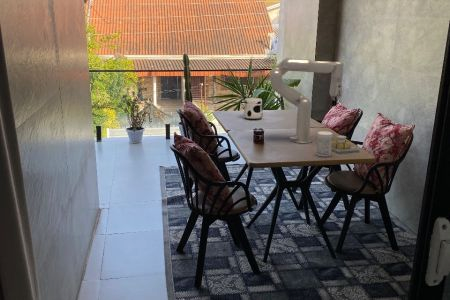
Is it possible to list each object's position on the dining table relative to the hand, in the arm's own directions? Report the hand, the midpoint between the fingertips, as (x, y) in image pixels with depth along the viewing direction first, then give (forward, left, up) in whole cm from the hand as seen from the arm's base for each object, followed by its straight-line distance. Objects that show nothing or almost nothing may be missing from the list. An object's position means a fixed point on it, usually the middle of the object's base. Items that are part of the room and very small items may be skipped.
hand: (333, 105), depth 310 cm
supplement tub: (-22, -30, -26) cm, 46 cm away
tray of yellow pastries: (-4, -20, -26) cm, 33 cm away
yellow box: (-3, -18, -24) cm, 30 cm away
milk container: (-27, +95, -26) cm, 102 cm away
